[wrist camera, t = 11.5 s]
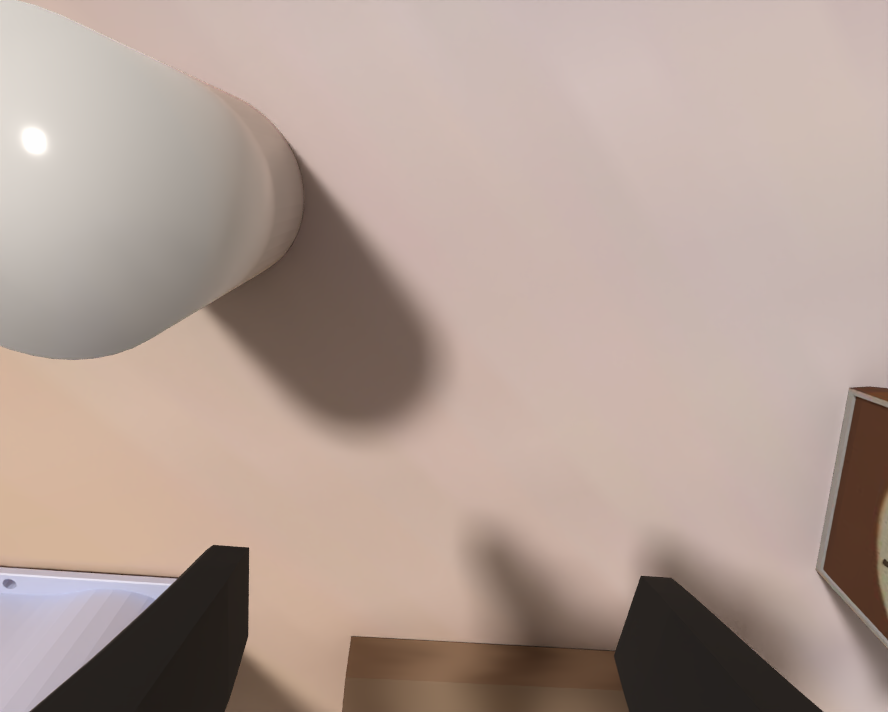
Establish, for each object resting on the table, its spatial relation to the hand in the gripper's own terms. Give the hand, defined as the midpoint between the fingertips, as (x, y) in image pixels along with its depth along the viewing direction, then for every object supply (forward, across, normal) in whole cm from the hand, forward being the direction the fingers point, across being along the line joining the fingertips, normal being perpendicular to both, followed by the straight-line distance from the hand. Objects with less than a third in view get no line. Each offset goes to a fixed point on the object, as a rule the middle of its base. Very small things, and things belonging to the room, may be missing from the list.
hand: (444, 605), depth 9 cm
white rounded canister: (+10, +8, -6) cm, 14 cm away
